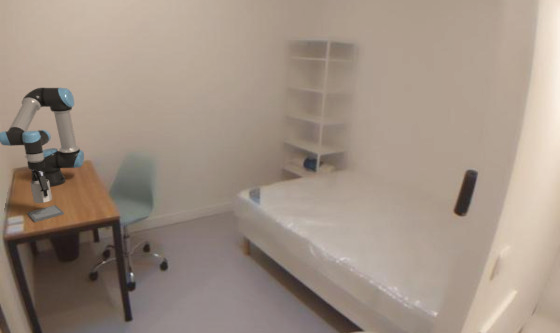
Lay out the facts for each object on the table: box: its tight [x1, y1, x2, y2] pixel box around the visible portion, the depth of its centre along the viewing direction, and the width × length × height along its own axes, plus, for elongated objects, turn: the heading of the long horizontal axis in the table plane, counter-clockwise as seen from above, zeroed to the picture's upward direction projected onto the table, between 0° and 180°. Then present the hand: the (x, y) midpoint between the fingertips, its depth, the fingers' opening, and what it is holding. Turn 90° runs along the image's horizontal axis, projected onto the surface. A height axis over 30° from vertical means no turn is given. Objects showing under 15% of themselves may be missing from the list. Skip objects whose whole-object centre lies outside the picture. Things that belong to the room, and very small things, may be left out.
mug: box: [30, 179, 53, 204], centre depth 189 cm, size 12×8×11 cm
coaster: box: [26, 204, 65, 223], centre depth 193 cm, size 13×14×1 cm
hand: (42, 198), depth 190 cm, fingers closed on mug, 12 cm apart
